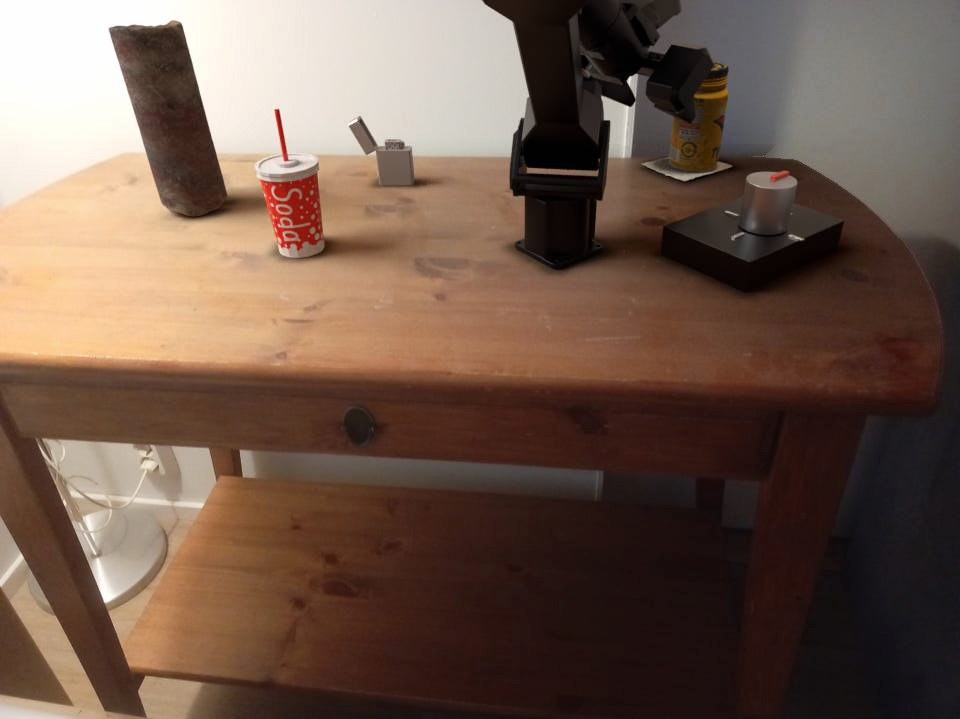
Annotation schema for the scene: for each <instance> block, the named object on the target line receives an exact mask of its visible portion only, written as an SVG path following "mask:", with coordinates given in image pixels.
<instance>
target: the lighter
mask: <svg viewBox="0 0 960 719" xmlns="http://www.w3.org/2000/svg"><path fill="white" fill-rule="evenodd" d="M347 126H348V128H349V130H350V131H351V133H352V134H353V136H354V138H355V140H356V141H357V143H358V144H359V146H360V148H361V149H362V151H363V152H364V154H365V155H366V156H369V154H372V153H374V152H375V156H376V164H377V165H376V166H377V174H378V183H379V186H413V185H414V183H415V182H416V180H415V169H414V156H413V155H414V154H413V147H412V145H406V144H405V141H403V140H402V139H401V138H386V139H385V140H384V145H379V144H378V143H377V141H376V140H375V138H374V136H373V135H372V133H371V131H370V130H369V128H368V126H367V124H366V123H365V121H364V119H363V118H362V116H361V115H358V116H356V117H355V118H353V119H350V120H349V122H348V123H347Z"/></svg>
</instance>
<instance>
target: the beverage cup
mask: <svg viewBox="0 0 960 719" xmlns="http://www.w3.org/2000/svg"><path fill="white" fill-rule="evenodd" d="M274 116H275V121H276V127H277V133H278V138H279V143H280V148H281V153H277V154H274V155H270V156H266V157H264V158H261V159H259V160H258V161H257V162H256V163H254V172H255V173H256V178H258V179H259V181H260V183H261V188H262V192H263V195H264V199H265V204H266V207H267V211H268V214H269V218H270V222H271V225H272V229H273V233H274V236H275V240H276V243H277V248H278V251H279V253H280V255H282V256H283V257H287V258H290V259H291V258H292V259H302V258H309V257H311V256H315V255H317V254H319V253H321V252H322V251H323V250H324V248H326V246H325V238H324V237H325V236H324V228H323V218H322V207H321V206H322V205H321V196H320V187H319V178H318V172H319V170H320V160H319V157H318V156H316V155H314V154H311V153H306V152H288V149H287V143H286V137H285V132H284V127H283V122H282V116H281V110H280V108H275V109H274Z"/></svg>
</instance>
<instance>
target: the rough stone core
mask: <svg viewBox="0 0 960 719" xmlns="http://www.w3.org/2000/svg"><path fill="white" fill-rule="evenodd" d="M108 32H109V36H110V39H111V42H112V46H113V49H114V52H115V55H116V56H115V57H116V58H117V61H118V62H117V63H118V64H119V68H120V72H121V75H122V77H123V81H124V83H125V87H126V90H127V94H128V98H129V100H130V103H131V106H132V111H133V113H134V117H135V120H136V123H137V126H138V129H139V133H140V137H141V140H142V144H143V147H144V150H145V153H146V157H147V161H148V164H149V167H150V171H151V174H152V177H153V178H152V179H153V181H154V184H155V187H156V190H157V193H158V197H159V199H160V203H161V204H162V206H164V207H165V208H166V209H167V210H168V211H169V212H173V213H178V214H181V215H186V216H187V217H200V216H204V215H206V214H209V213H210V212H211V211H214V210H217V209H220V208H221V207H222V205H223V204H224V202H225V200H226V199H227V198H228V192H227V188H226V184H225V179H224V176H223V172H222V169H221V166H220V162H219V158H218V154H217V151H216V146H215V144H214V140H213V137H212V132H211V129H210V125H209V120H208V118H207V114H206V110H205V106H204V102H203V99H202V94H201V91H200V86H199V83H198V80H197V79H198V78H197V76H196V71H195V68H194V64H193V60H192V57H191V52H190V49H189V46H188V41H187V37H186V34H185V30H184V26H183V23H182V22H181V21H178V20H176V19H172V20H170V21H168V23H166V24H159V25H142V24H130V25H115V26H110V27H108Z"/></svg>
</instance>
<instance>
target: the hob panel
mask: <svg viewBox="0 0 960 719" xmlns="http://www.w3.org/2000/svg"><path fill="white" fill-rule="evenodd" d="M742 200H743V195H742V196H739V197H737V198H735V199H732V200H728V201H727V202H724V203H721V204H718V205H716V206H713V207H710V208H708V209H705V210H702V211H700V212H697V213H694V214H691V215H689V216H686V217H683V218H680V219H678V220H675V221H673V222H670V223H668V224H667V223H666V224H665V225H663V227H662V235H661V245H660V253H659V254H660V255H661V256H663V257H665V258H668V259H670V260H672V261H674V262H677V263H679V264H681V265H684V266H686V267H688V268H690V269H692V270H695V271H697V272H699V273H701V274H703V275H705V276H707V277H710V278H711V279H714V280H716V281H719V282H721V283H723V284H725V285H727V286H730V287H732V288H734V289H736V290H739V291H741V292H743V293H747V292H749V291H750V290H752V289H755V288H757V287H759V286H761V285H764V284H765V283H767V282H770V281H773V280H774V279H776V278H778V277H780V276H783V275H785V274H787V273H789V272H791V271H793V270H796V269H797V268H800V267H802V266H804V265H806V264H808V263H811V262H812V261H815V260H817V259H819V258H821V257H823V256H826V255H828V254H830V253H832V252H834V251H836V250H838V248H839V244H840V240H841V236H842V232H843V228H844V224H845V220H844V219H842V218H839V217H836V216H832V215H829V214H827V213H823V212H821V211H818V210H815V209H812V208H808V207H806V206H803V205H800V204H797V203H794V202H793V206H792V211H791V216H790V220H789V225H788V229H787V230H786V231H785V232H784V233H781V234H777V235H760V234H755V233H751V232H748V231H746V230H744V229H742V228H741V227H740V226H739V218H740V212H741V206H742Z"/></svg>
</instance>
